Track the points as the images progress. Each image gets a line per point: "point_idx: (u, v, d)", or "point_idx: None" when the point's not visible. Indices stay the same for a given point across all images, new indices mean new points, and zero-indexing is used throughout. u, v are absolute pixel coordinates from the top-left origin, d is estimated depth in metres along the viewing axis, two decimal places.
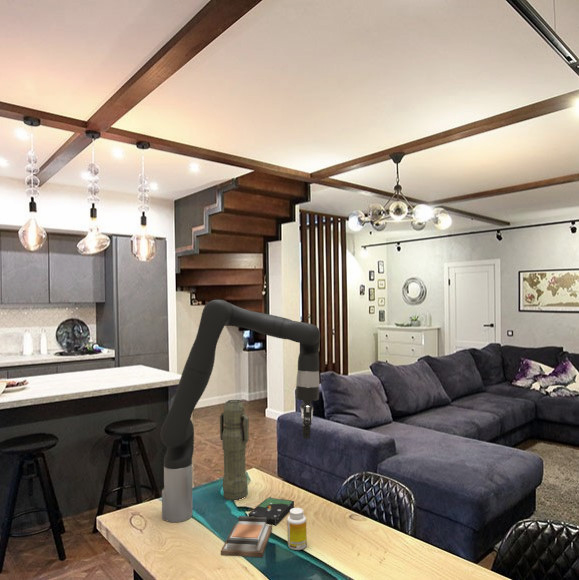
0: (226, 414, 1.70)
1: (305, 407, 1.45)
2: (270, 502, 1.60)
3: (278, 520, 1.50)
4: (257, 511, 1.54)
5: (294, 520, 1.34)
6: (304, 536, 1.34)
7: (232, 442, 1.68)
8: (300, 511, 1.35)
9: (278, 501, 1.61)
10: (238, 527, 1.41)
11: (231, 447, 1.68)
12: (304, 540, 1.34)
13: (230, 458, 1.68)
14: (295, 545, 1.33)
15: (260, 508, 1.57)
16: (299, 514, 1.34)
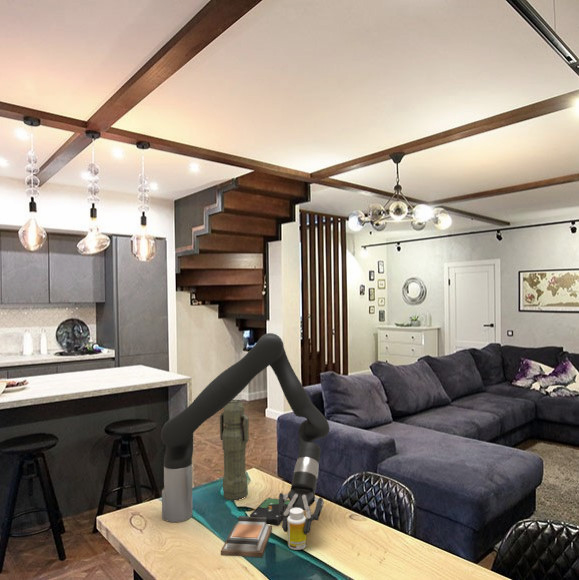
0: (226, 414, 1.70)
1: (322, 500, 1.38)
2: (270, 503, 1.60)
3: (280, 520, 1.50)
4: (258, 512, 1.54)
5: (294, 520, 1.34)
6: (304, 536, 1.34)
7: (232, 442, 1.68)
8: (300, 511, 1.35)
9: (278, 501, 1.61)
10: (238, 527, 1.41)
11: (231, 447, 1.68)
12: (304, 540, 1.34)
13: (230, 458, 1.68)
14: (295, 544, 1.33)
15: (261, 509, 1.56)
16: (299, 514, 1.34)
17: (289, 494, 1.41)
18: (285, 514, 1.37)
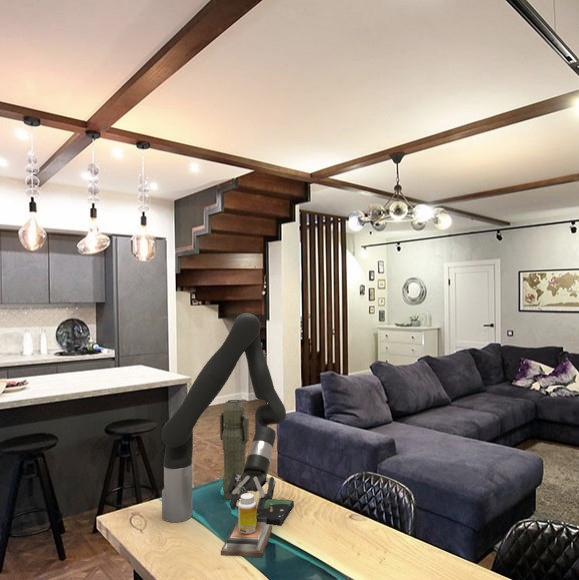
0: (226, 414, 1.70)
1: (273, 479, 1.42)
2: (270, 503, 1.60)
3: (283, 520, 1.50)
4: None
5: (244, 504, 1.37)
6: (254, 520, 1.37)
7: (232, 442, 1.68)
8: (250, 496, 1.38)
9: (278, 501, 1.61)
10: None
11: (231, 447, 1.68)
12: (254, 524, 1.37)
13: (230, 458, 1.68)
14: (244, 529, 1.36)
15: None
16: (249, 499, 1.37)
17: (242, 476, 1.44)
18: (233, 493, 1.41)
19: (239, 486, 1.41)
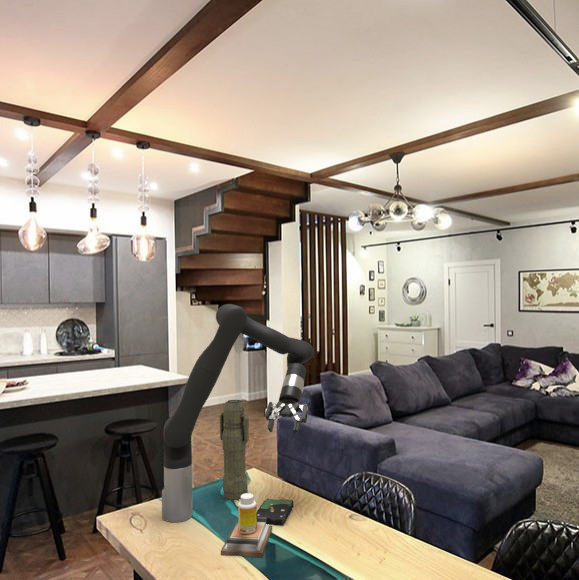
0: (226, 414, 1.70)
1: (306, 405, 1.57)
2: (270, 503, 1.59)
3: (284, 520, 1.50)
4: (261, 513, 1.53)
5: (243, 505, 1.37)
6: (254, 520, 1.37)
7: (232, 442, 1.68)
8: (250, 496, 1.38)
9: (278, 501, 1.61)
10: None
11: (231, 447, 1.68)
12: (254, 524, 1.37)
13: (230, 458, 1.68)
14: (244, 529, 1.36)
15: (262, 510, 1.55)
16: (249, 499, 1.37)
17: (277, 404, 1.60)
18: (270, 417, 1.56)
19: (275, 412, 1.57)
